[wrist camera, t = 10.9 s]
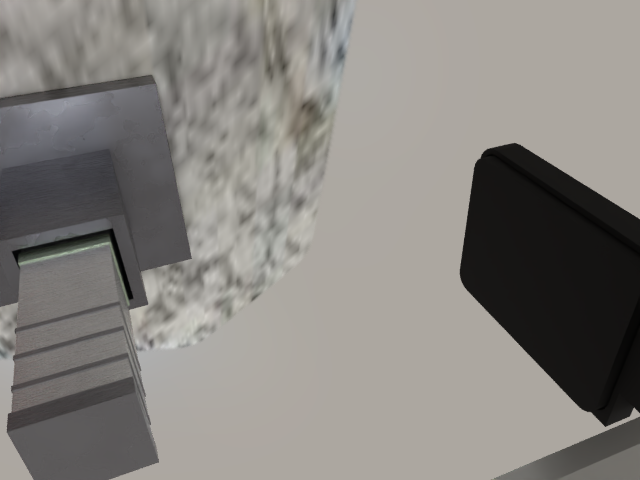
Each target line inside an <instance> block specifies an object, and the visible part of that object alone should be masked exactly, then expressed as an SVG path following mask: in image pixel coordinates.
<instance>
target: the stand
mask: <svg viewBox="0 0 640 480" xmlns="http://www.w3.org/2000/svg"><path fill="white" fill-rule="evenodd" d="M107 229H110V231H111V234H112V238H113V241H114V244H115V248H116V251H117V254H118V258H119V261H120V264H121V269H122V274H123V280H124V284H125V287H126V291H127V294H128V298H129V303H130V306H128V307H129V310H130V309H134V308H137V307H141V306H145V305H148V301H147V297H146V292H145V288H144V283H143V279H142V275H141V271H144V270H148V269H152V268H156V267H160V266H164V265H168V264H172V263H176V262H180V261H184V260H188V259H192V258H191V253H190V248H189V243H188V238H187V233H186V229H185V224H184V219H183V214H182V209H181V204H180V199H179V195H178V190H177V185H176V180H175V175H174V170H173V165H172V160H171V156H170V151H169V146H168V141H167V136H166V131H165V126H164V121H163V117H162V112H161V107H160V102H159V97H158V92H157V87H156V83H155V81H154V79H153V77H152V75H150V76H144V77H137V78H131V79H124V80H118V81H111V82H105V83H98V84H92V85H85V86H79V87H72V88H66V89H59V90H53V91H46V92H40V93H33V94H27V95H20V96H14V97H7V98H1V99H0V307H1V306H5V305H9V304H13V303H17V302H18V297H19V281H20V266H19V264H18V256H19V253H21V249H23V248H28V247H32V246H36V245H41V244H45V243H50V242H54V241H59V240H63V239H67V238H72V237H76V236H81V235H85V234H89V233H94V232H98V231H103V230H107Z"/></svg>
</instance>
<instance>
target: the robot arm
mask: <svg viewBox="0 0 640 480" xmlns="http://www.w3.org/2000/svg"><path fill="white" fill-rule="evenodd" d="M460 278H461V281H462V283H463V285H464V287H465V288H466V289H467V291H469V293H470V294H471V295H472V296H473V297H474V298H475V299H476V300H477V301H478V302H479V303H480V304H481V305H482V306H483V307H484V308H485V309H486V310H487V311H488V312H489V314H490V315H491V316H492V317H493V318H494V319H495V320H496V321H497V322H498V323H499V324H500V325H501V326H502V327H503V328H504V329H505V330H506V331H507V332H508V333H509V334H510V335H511V336H512V337H513V338H514V340H515V341H516V342H517V343H518V344H519V345H520V346H521V347H522V348H523V349H524V350H525V351H526V352H527V353H528V354H529V355H530V356H531V357H532V358H533V359H534V360H535V361H536V363H538V365H539V366H540V367H541V368H542V369H543V370H544V371H545V372H546V373H547V374H548V375H549V376H550V377H551V378H552V379H553V380H554V381H555V382H556V383H557V384H558V385H559V386H560V388H561V389H562V390H563V391H564V392H565V393H566V394H567V395H568V396H569V397H570V398H571V399H572V400H573V401H574V402H575V403H576V404H577V405H578V406H579V407H580V408H581V409H582V410H584V411H587V412H592V413H593V415H594V416H596V418H597V419H598V420H599V421H600V422H601V423H602V424H603V425H604V426H605V427H606V426H608V425H611V424H613V423H615V422H618V421H620V420H622V419H625V418H627V417H629V416H630V415H631V412H632V410H633V408H635V409H636V410H637V411H638V412H639V413H640V219H638V218H637V217H635V216H634V215H632V214H631V213H629V212H627V211H626V210H624V209H622V208H620V207H619V206H618V205H616V204H614V203H613V202H611V201H610V200H608V199H606V198H605V197H603V196H602V195H600V194H598V193H597V192H595V191H593V190H592V189H590V188H589V187H587V186H585V185H584V184H582V183H580V182H579V181H577V180H576V179H574V178H573V177H571V176H569V175H568V174H566V173H564V172H563V171H561V170H559V169H558V168H556V167H555V166H553V165H552V164H550V163H548V162H547V161H545V160H544V159H542V158H540V157H539V156H537V155H535V154H534V153H532V152H531V151H529V150H527V149H525V148H524V147H523V146H521V145H519V144H516V143H512V144H508V145H503V146H499V147H494V148H490V149H487V150H486V151H484V152H483V154H482V156H481V159H479V160H477V162H476V164H475V167H474V174H473V181H472V188H471V195H470V202H469V209H468V216H467V223H466V230H465V238H464V245H463V252H462V259H461V266H460ZM492 480H640V417H638V418H636V419H634V420H631V421H629V422H626V423H624V424H622V425H619V426H617V427H615V428H612V429H610V430H608V431H605V432H603V433H601V434H598V435H596V436H593V437H591V438H589V439H586V440H584V441H581V442H579V443H577V444H574V445H572V446H570V447H567V448H565V449H562V450H560V451H558V452H555V453H553V454H551V455H548V456H546V457H544V458H541V459H539V460H536V461H534V462H532V463H529V464H527V465H525V466H522V467H520V468H518V469H515V470H513V471H511V472H508V473H506V474H504V475H501V476H499V477H497V478H494V479H492Z"/></svg>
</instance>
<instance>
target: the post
mask: <svg viewBox="0 0 640 480" xmlns="http://www.w3.org/2000/svg"><path fill="white" fill-rule="evenodd" d="M18 264H19V266H20V281H19V297H18V314H17V328H15V334H16V347H15V355H14V356H13V361H14V363H15V365H14V380H13V386H11V391H12V393H13V398H12V413H9V414H8V422H7V423H8V424H7V433H8V435H9V437H10V439H11V440H12V442H13V444H14V446H15V447H16V449H17V451H18V453H19V454H20V456H21V458H22V460H23V461H24V463H25V465H26V467H27V469H28V470H29V472H30V474H31V475H32V477H33V479H34V480H109V479H112V478H115V477H118V476H120V475H123V474H126V473H129V472H132V471H135V470H138V469H140V468H143V467H146V466H149V465H152V464H155V463H158V462H159V459H158V454H157V449H156V445H155V441H154V438H153V435H152V432H151V428H150V425H151V422H150V418H149V415H148V412H147V406H146V401H145V396H146V395H145V391H144V388H143V384H142V379H141V374H140V371H141V368H140V364H139V361H138V357H137V351H136V346H135V340H134V335H133V329H132V324H131V318H130V313H129V307H128V306H130V303H129V298H128V294H127V291H126V287H125V284H124V280H123V274H122V269H121V264H120V261H119V258H118V254H117V251H116V248H115V244H114V241H113V238H112V234H111V231H110V229H107V230H103V231H98V232H94V233H89V234H85V235H81V236H76V237H72V238H67V239H63V240H59V241H54V242H50V243H45V244H41V245H36V246H32V247H28V248H23V249H21V253H19V256H18Z"/></svg>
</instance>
